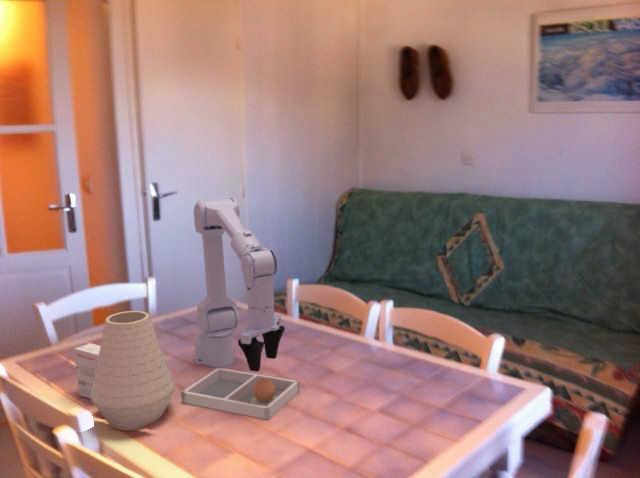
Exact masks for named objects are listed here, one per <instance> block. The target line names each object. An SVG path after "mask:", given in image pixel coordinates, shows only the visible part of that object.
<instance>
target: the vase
mask: <svg viewBox="0 0 640 478" xmlns="http://www.w3.org/2000/svg"><path fill="white" fill-rule="evenodd" d="M99 346H100V350H99V355H98V360H97V365H96V370H95V375H94V380H93V385H92V390H91V399H90V400H91V402H92V404H93V405H94V407H96V409H97V410H98V411H99V413H100V414H101V415H102V417H103V418H104V419H105V421H107V423H108V424H109V426H110V427H111V428H113V429H114V430H118V431H123V432H127V431H128V432H130V431H131V432H132V431H139V430H143V429H145V427H143V426H147V425H150V424H152V423H154V422H156V421H157V420H159V419H160V418H161V417H162V416H163V415H164V413H165V411H166V409H167V406H168V405H169V403H170V400H171V399H172V397H173V394H174V392H175V389H176V382H175V379H174V377H173V375H172V372H171V369H170V367H169V366H170V365H169V364H168V361H167V359H166V356H165V353H164V351H163V348H162V345H161V343H160V340H159V338H158V335H157V332H156V330H155V327H154V325H153V322H152V320H151V317H150V314H149V313H147V312H146V311H143V310H128V311H127V310H126V311H121V312H115V313H113V314H111V315H108V316H107V317H106V318H105V321H104V327H103V332H102V338H101V341H100V345H99Z"/></svg>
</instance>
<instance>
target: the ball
mask: <svg viewBox="0 0 640 478" xmlns="http://www.w3.org/2000/svg"><path fill="white" fill-rule="evenodd" d="M253 394H254V396H255V397H256V399H258V400H259V401H262V402H265V401H269V400H271V399H272V398H273V396H274V395H275V385H274V383H273V382H272V381H271V380H269V379H260V380H258V381H257V382H256V383H255V385H254V387H253Z"/></svg>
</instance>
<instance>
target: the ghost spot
mask: <svg viewBox="0 0 640 478" xmlns="http://www.w3.org/2000/svg"><path fill="white" fill-rule="evenodd" d="M276 398H277V396H275V395H274V396H273V398H272V399H271V400H269V401H265V402H262V401H259V400H258V399H256V397H253V398H252V399H251V401H250V402H251V404H256V405H261V406H268V405H269V404H270V403H271V402H272V401H273V400H275V399H276Z"/></svg>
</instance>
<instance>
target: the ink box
mask: <svg viewBox="0 0 640 478" xmlns="http://www.w3.org/2000/svg"><path fill="white" fill-rule="evenodd" d="M100 346H101V345H98V344H95V343H91V342H89V343H87V344H85V345H81V346H78V347H75V348H74V349H73V350H74V358H75V367H76V378H77V389H78V396H79V397H83V398H87V399H89V400H91V390H92V385H93V380H94V375H95V370H96V365H97V360H98V355H99V350H100Z"/></svg>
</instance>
